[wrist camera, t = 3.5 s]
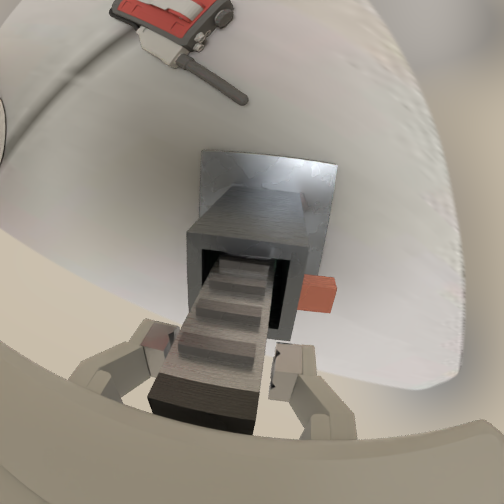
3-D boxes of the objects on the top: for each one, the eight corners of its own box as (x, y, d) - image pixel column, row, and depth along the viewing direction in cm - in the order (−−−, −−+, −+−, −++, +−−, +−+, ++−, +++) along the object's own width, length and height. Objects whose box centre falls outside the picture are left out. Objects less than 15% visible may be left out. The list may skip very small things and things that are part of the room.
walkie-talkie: (104, 30, 19) (241, 113, 23) (81, 21, 15) (232, 109, 19) (152, -27, 16) (302, 46, 19) (134, -42, 12) (305, 30, 15)
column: (243, 236, 26) (161, 440, 8) (246, 199, 24) (140, 387, 6) (277, 240, 26) (249, 459, 7) (282, 203, 24) (260, 413, 6)
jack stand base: (201, 265, 29) (151, 349, 17) (204, 149, 24) (132, 169, 12) (314, 280, 28) (326, 377, 16) (335, 164, 23) (382, 196, 11)
